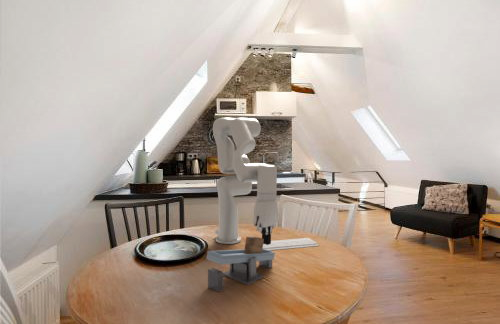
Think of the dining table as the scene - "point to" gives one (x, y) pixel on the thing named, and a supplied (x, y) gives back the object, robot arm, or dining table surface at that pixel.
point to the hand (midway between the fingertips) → (266, 243)
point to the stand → (237, 273)
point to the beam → (237, 256)
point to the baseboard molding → (290, 244)
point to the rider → (253, 245)
